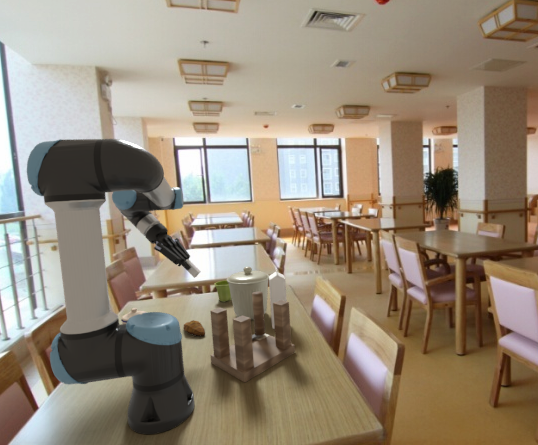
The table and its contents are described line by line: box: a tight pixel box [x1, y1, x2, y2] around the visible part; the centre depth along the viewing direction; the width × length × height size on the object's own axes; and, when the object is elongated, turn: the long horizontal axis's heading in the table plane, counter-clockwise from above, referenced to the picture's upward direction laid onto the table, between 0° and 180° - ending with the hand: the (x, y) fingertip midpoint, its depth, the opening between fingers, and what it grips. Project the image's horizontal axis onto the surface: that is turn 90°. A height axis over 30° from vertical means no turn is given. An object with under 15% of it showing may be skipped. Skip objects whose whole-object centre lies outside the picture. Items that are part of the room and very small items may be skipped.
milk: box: [268, 268, 288, 330], centre depth 121 cm, size 6×6×22 cm
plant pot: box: [214, 279, 232, 303], centre depth 157 cm, size 9×9×9 cm
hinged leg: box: [252, 291, 266, 340], centre depth 105 cm, size 11×4×15 cm, turn 134°
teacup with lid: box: [120, 307, 148, 324], centre depth 118 cm, size 12×9×12 cm
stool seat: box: [210, 300, 296, 383], centre depth 98 cm, size 21×16×16 cm
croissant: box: [183, 320, 206, 338], centre depth 121 cm, size 14×7×5 cm, turn 45°
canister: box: [226, 266, 270, 321], centre depth 133 cm, size 18×18×21 cm
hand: (197, 274), depth 112 cm, fingers closed
